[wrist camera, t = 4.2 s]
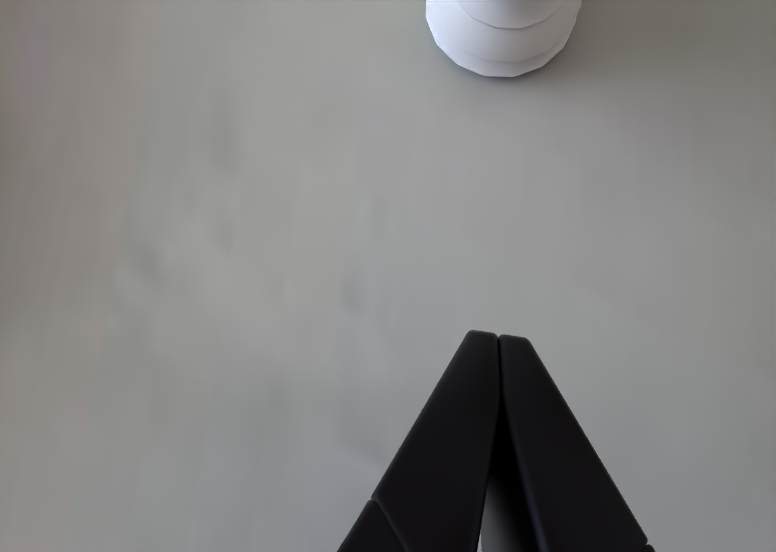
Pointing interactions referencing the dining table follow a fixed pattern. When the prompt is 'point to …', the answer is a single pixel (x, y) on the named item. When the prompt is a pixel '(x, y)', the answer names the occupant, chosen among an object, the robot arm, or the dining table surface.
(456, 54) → the rook chess piece
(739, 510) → the dining table surface
